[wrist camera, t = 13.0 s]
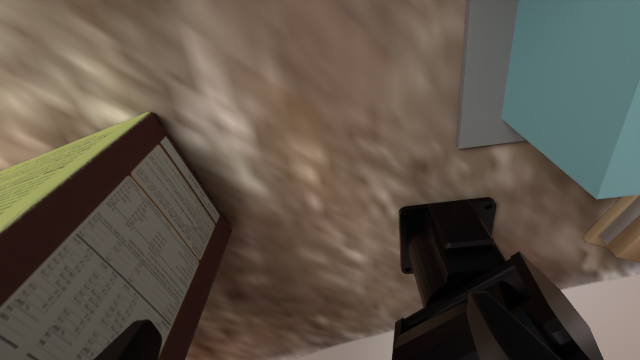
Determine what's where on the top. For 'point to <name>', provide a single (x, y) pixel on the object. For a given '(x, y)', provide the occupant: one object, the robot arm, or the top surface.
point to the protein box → (105, 245)
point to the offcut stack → (619, 229)
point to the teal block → (579, 89)
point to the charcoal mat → (486, 73)
